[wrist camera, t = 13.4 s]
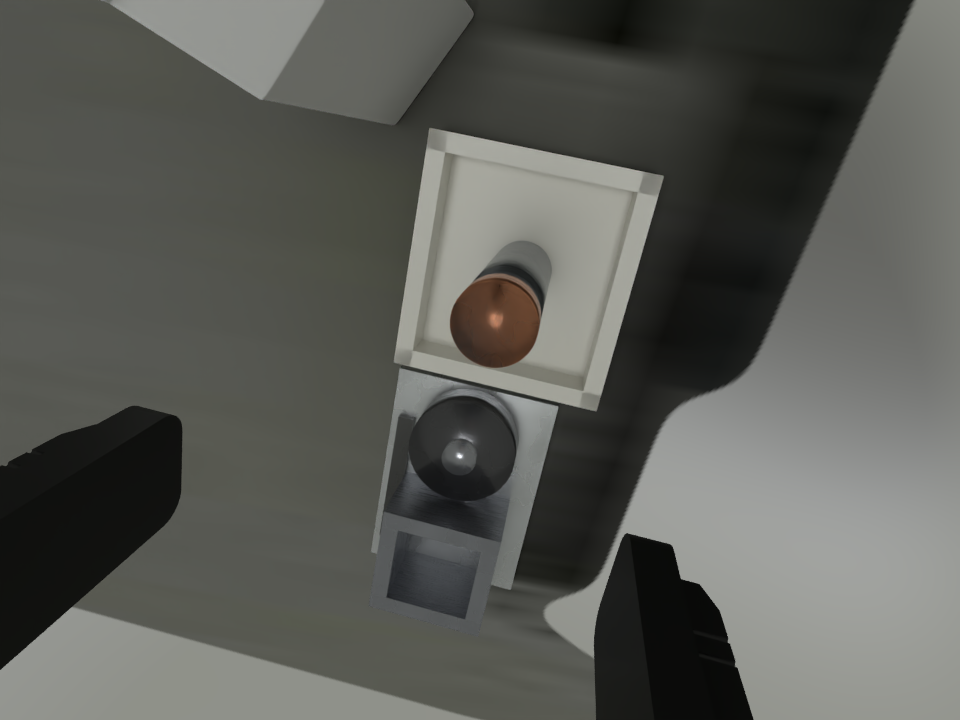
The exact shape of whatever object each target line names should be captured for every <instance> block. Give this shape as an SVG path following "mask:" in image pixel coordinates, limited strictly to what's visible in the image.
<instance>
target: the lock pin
mask: <svg viewBox="0 0 960 720" xmlns="http://www.w3.org/2000/svg"><path fill="white" fill-rule="evenodd" d="M551 274H552V267H551V262H550V259H549V257H548V255H547V254H546V252H545V251H544V250H543V249H542V248H541V247H540V246H538V245H537V244H535V243H532V242H529V241H515V242H512V243H509V244H507V245H506V246H504V247H503V248H502V249H501V250H500V251H499V252H498V253H497V254H496V255H495V257H494V258H493V259H492V260H491V261H490V262H489V264H488V265H487V266H486V267H485V268H484V269H483V270H482V272H481V273H480V274H479V275H478V276H477V277H476V279H475V280H474V281H473V282H472V283H471V284H470V285H469V286H468V287H467V288H466V289H465V290H464V292H463V293H462V294H461V295H460V296H459V298H458V299H457V300H456V302H455V304H454V306H453V308H452V311H451V315H450V331H451V335H452V338H453V340H454V343H455V344H456V346H457V348H458V349H459V350H460V352H461V353H462V354H463V355H464V356H465V357H467V358H468V359H469V360H471V361H472V362H474V363H476V364H479V365H481V366H485V367H490V368H502V367H507V366H510V365H513V364H515V363H517V362H519V361H520V360H522V359H523V358H524V357H525V356H526V355H527V354H528V353H529V352H530V351H531V349H532V348H533V346H534V344H535V342H536V339H537V336H538V332H539V328H540V323H541V317H542V313H543V308H544V304H545V300H546V296H547V292H548V287H549V283H550V279H551Z"/></svg>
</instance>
